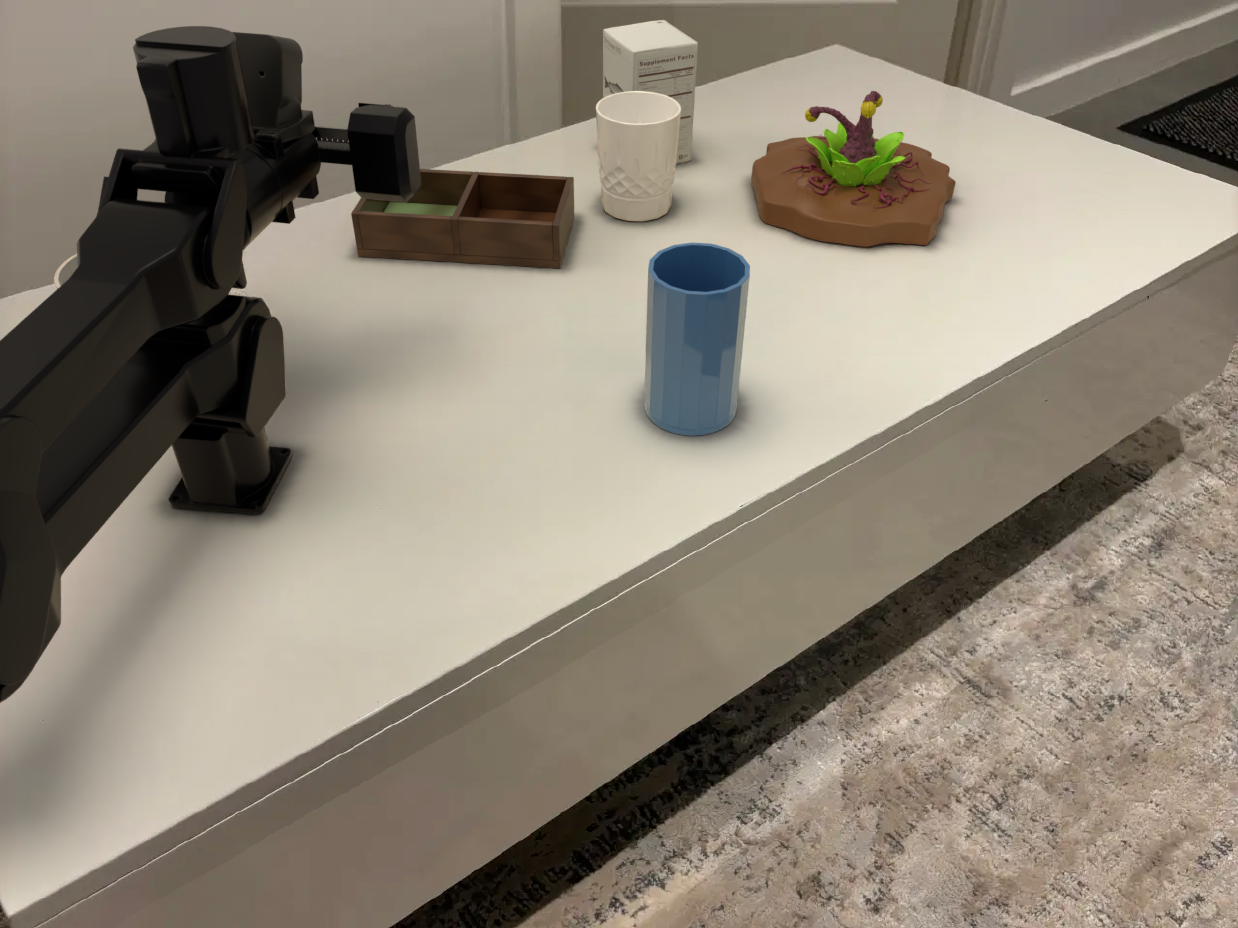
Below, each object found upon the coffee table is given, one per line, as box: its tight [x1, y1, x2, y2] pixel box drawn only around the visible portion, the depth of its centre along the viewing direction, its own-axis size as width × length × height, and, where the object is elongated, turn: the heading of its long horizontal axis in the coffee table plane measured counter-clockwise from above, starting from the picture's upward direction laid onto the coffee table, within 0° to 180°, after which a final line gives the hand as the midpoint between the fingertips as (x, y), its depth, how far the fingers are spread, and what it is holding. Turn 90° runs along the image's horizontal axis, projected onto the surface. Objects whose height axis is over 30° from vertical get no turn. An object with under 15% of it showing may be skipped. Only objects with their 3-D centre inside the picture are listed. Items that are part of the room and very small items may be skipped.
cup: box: [643, 242, 751, 437], centre depth 78 cm, size 7×7×12 cm
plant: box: [750, 90, 956, 248], centre depth 104 cm, size 20×20×11 cm
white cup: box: [595, 91, 681, 222], centre depth 103 cm, size 8×8×10 cm
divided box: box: [350, 168, 576, 269], centre depth 100 cm, size 19×10×4 cm, turn 84°
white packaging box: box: [602, 19, 699, 165], centre depth 112 cm, size 7×7×13 cm
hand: (332, 106), depth 83 cm, fingers open, 9 cm apart
